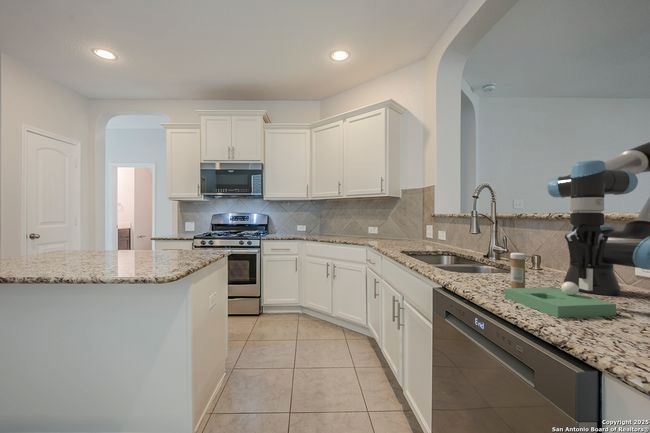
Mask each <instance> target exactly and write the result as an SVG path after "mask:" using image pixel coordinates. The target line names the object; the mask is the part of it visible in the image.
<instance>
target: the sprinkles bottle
mask: <svg viewBox="0 0 650 433" xmlns="http://www.w3.org/2000/svg"><path fill="white" fill-rule="evenodd" d="M526 255H527V254H526V253H522V252H511V253H510V255H509V256H510V257H509V258H510V288H526V259H527V256H526Z"/></svg>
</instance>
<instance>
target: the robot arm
mask: <svg viewBox="0 0 650 433" xmlns="http://www.w3.org/2000/svg"><path fill="white" fill-rule="evenodd" d="M648 172H649V173H650V141H647V142H646V143H644V144H641V145H637V146H635V147H633V148H630V149H628V150H625V151H623V152H621V153H619V154H618V155H617V156H616V157H614V158H611V159H608V160H606V161H604V160H601V159H600V160H598V159H597V160H585V161H579V162H578V161H577V162H576V163H573V164H572V166H571V172H570V174H568V175H564V176H558V177H554V178H551V179H550V180H549V181H548V182H547V186H546V189H547V193H548V195H549V196H551V197H553V198H561V199H562V198H563V199H564V198H570V205H569V206H570V211H571V213H570V216H569V217H570V218H569V222H570V223H569V224H570V225H572V226H573V227H572V229H571V230H570V233H569V234H567V233H566V234H565V235H564V239H565V240H566V242H567V247H568V253H569V266H568V270H567V271H566V274H565V277H564V279H563V283H565V282H573V283H575V284H576V285H577V286H578V288H579V292H580V293H581V292H582V293H585V294H586V293H588V294H594V295H606V296H617V295H620V294H621V293H622V292H621V286H620V284H619V280H618V279H617V276H616V275H615V274H616V273H615V271H614V265H617V266H621V267H622V266H624V267H630V268H637V269H641V270H647V271H648V270H650V196H649V197H648V198H647V200H646V202H645V204H644V205H643V207H642V209H641V211H640V212H639V214H638V215H637V217H636V219H635V220H634V219H633V220H629V221H628V222H627V223H626V224H625V225H624V228H623V229H622V230H615V228H614V226H610V225H608V226H605V213H604V211H605V196H606V195H613V196H617V195H619V196H620V195H627V194H630V193H631V192H633V191H634V190H636V189H637V186H638V184H639V180H638V177H637V175H640V174H642V173H648ZM563 283H562V284H563Z"/></svg>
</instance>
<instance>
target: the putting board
mask: <svg viewBox="0 0 650 433" xmlns="http://www.w3.org/2000/svg"><path fill="white" fill-rule="evenodd" d="M504 298H505V299H507V300H510V301H513V302H515V303H518V304H521V305H523V306H526V307H529V308H532V309H534V310H536V311H540V312H542V313H544V314H546V315H550V316H552V317H555V318H557V319H558V318H578V317H599V316H600V317H602V316H604V317H605V316H616V315H617V303H614V302H610V301H606V300H603V299H599V298H595V297H592V296H588V295H585V294H580V293H577V294H576V295H567V294H565V293H564V292H563V291H562V289H561V288H558V287H554V286H548V287H547V286H546V287H525V288H511V287H509V288H504Z"/></svg>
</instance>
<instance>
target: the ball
mask: <svg viewBox="0 0 650 433" xmlns="http://www.w3.org/2000/svg"><path fill="white" fill-rule="evenodd" d="M560 289H562V291H563V292H564V293H565V294H567V295H576V294H579V292H580V291H579V288H578V286H577V285H576V284H575V283H573V282H565V283H562V284H561V287H560Z"/></svg>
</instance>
